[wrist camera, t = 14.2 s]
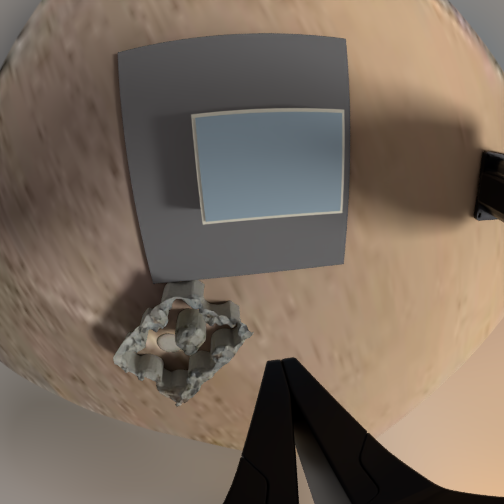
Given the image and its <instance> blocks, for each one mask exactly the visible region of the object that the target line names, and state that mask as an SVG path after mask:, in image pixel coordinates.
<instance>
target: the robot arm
mask: <svg viewBox="0 0 504 504" xmlns="http://www.w3.org/2000/svg"><path fill="white" fill-rule="evenodd" d="M474 218H475V219H476V220H478V221H481V220H495V219H499V220H501V221H502V222H504V154H499V153H494V152H489V151H484V152H483V154H482V162H481V171H480V180H479V187H478V194H477V200H476V206H475V212H474ZM295 446H296V449H297V452H298V455H299V458H300V461H301V464H302V467H303V470H304V473H305V476H306V479H307V483H308V486H309V489H310V491H311V494H312V497H313V500H314V503H315V504H504V497H496V496H487V495H478V494H471V493H465V492H459V491H453V490H449V489H445V488H443V487H440V486H438V485H436V484H434V483H433V482H431V481H430V480H428V479H427V478H425V477H424V476H422V475H421V474H419V473H418V472H416V471H415V470H413V469H412V468H410V467H409V466H408V465H406V464H405V463H403V462H402V461H401V460H399V459H398V458H397V457H395V456H394V455H392V453H390V452H389V451H388V450H387V449H385V448H384V447H383V446H382V445H381V444H380V443H379V442H378V441H377V440H376V439H375V438H374V437H373V436H372V435H371V434H370V433H367V431H366V430H365V429H364V428H363V427H362V426H361V425H360V424H359V423H358V422H357V421H356V420H355V419H354V418H353V417H352V416H351V415H350V414H349V413H348V412H347V411H346V410H345V409H344V408H343V407H342V406H341V405H340V404H339V403H338V402H337V401H336V400H335V399H334V398H333V396H332V395H331V394H330V393H329V392H328V391H327V390H326V389H325V388H324V387H323V386H322V385H321V384H320V383H319V382H318V381H317V380H316V379H315V378H314V377H313V376H312V375H311V374H310V373H309V372H308V371H307V369H306V368H305V367H304V366H303V365H302V364H301V363H300V362H299V361H298V360H297V359H296V358H294V357H292V358H285V359H282V360H271V361H267V363H266V367H265V371H264V375H263V379H262V382H261V386H260V390H259V394H258V398H257V401H256V405H255V409H254V413H253V416H252V420H251V423H250V427H249V431H248V434H247V438H246V441H245V445H244V448H243V452H242V457H241V458H240V461H239V465H238V468H237V471H236V474H235V477H234V480H233V482H232V485H231V487H230V490H229V492H228V494H227V496H226V498H225V501H224V503H223V504H299V497H298V481H297V466H296V452H295Z"/></svg>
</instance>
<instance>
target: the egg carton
mask: <svg viewBox="0 0 504 504" xmlns="http://www.w3.org/2000/svg"><path fill="white" fill-rule="evenodd" d="M203 293H204V284H203V283H202V282H201V281H199V280H189V281H185V282H168V283H167V285H166V286H165V288H164V291H163V296H162V299H161V304H160V305H157V306H156V307H155V308H154V309H151V308H148V309H147V310H146V311H145V312H144V314H143V316H142V320H141V324H140V326H139V327H137V328H136V329H135V330H134V332H133V333H132V332H129V333H128V334H127V336H126V338H125V341H124V342H123V343H122V344H121V346H120V348H119V349H118V351H117V352H116V354H115V356H114V358H113V360H114V363H115V364H116V365H118V366H120V367H121V368H122V369H123V370H124V371H125V372H126V373H127V372H128V371H129V372H131V373H133V374H135V375H136V376H137V377H138V379H139V380H141V381H143V380H144V377H147V378H149V379H151V380H153V381H155V382H156V386H157V389H158V391H159V392H160V393H161V394H162V395H164V396H166V397H168V398H171V399H172V400H173V401H175V402H177V403H176V406H179V405H181V404H182V403H183V402H184V403H186V402H187V401H188V400H189V399H190V398H192V397H193V396H194V395H195V394H196V393H197V392H198V391H199V389H200V387H201V385H202V384H203V383H204V382H206V381H207V380H209V379H211V378H212V377H213V375H214V373H216V372H217V371H218V370H219V369H220V368H221V367H222V366H223V365H225V364H227V363H228V362H229V361H230V360H231V359H232V357H233V356H234V355H235V354H236V352H237V351H238V349H239V347H240V346H242V344H243V343H244V341H245V339H247V338H250V337H251V336H252V334H253V332H252V333H251V332H250V331H249V330H248V328H247V326H246V325H245V324H243V323H241V320H240V311H239V306H238V305H237V304H235V303H233V302H232V301H228V302H226V303H224V304H221V305H214V304H210V303H208V302H207V301H206V300H205V299H204V297H203ZM175 299H182V300H183V301H184V302H186V303H187V304H188V305H189V306H191V307H192V308H193V309H185V310H183V311H181V312H180V313H179V315H178V319H177V324H176V330H175V335H174V334H169V333H168V334H163V335H161V336H160V337H159V338H158V340H157V343H158V346H159V347H160V348H161V349H162V350H164V351H166V352H177V351H179V350H181V349H182V350H183V351H184V353H185V354H186V355H189V356H190V355H191V356H190V358H189V369H188V370H187V371H186V370H175V371H173V372H170V371H168V370H166V369H164V368H163V367H164V362H163V360H162V359H161V358H160V357H158V356H156V355H153V354H145V355H142V356H139V355H137V354H136V353H137V352H138V351H140V350H142V349H143V348H145V344H146V340H147V336H148V331H149V329H152V330H153V331H155V332H157V331H158V330H159V328H162V329H163V328H164V327H165V326H166V325H167V323H168V312H169V310H170V309H171V308H172V303H173V301H174V300H175ZM197 309H199V310H197ZM206 323H208V324H209V325H210V326H213V325H214V323H217V324H218V325H220V326H221V325H223V324H228V325H229V326H230V327H231V328H233V327H234V326H235V325H236V323H237V327H236V328H235V329H234V330H231V329H219V330H217V331H215V332H214V333H213V334H212V337H211V351H210V352H207V351H197V350H198V349H199V347H200V346H201V345H202V344H203V343H204V342H205V340H206ZM133 351H134V352H136V353H134V352H133Z"/></svg>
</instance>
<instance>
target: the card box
mask: <svg viewBox="0 0 504 504" xmlns="http://www.w3.org/2000/svg"><path fill="white" fill-rule="evenodd" d="M191 118H192V129H193V140H194V151H195V161H196V170H197V180H198V189H199V197H200V206H201V214H202V222H203V225H204V224H214V223H224V222H235V221H246V220H257V219H269V218H281V217H293V216H307V215H321V214H336V213H342V209H343V189H344V150H345V123H344V110H342V109H318V108H272V109H248V110H233V111H220V112H210V113H200V114H192V115H191Z"/></svg>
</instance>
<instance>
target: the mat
mask: <svg viewBox="0 0 504 504" xmlns="http://www.w3.org/2000/svg"><path fill="white" fill-rule="evenodd" d="M118 70H119V86H120V98H121V109H122V119H123V128H124V136H125V144H126V152H127V158H128V165H129V172H130V178H131V184H132V189H133V195H134V200H135V206H136V211H137V216H138V221H139V226H140V230H141V235H142V239H143V244H144V248H145V253H146V257H147V261H148V265H149V269H150V273H151V277H152V281H153V284H155V283H166V282H178V281H189V280H199V279H210V278H220V277H230V276H240V275H250V274H259V273H269V272H278V271H287V270H296V269H305V268H313V267H322V266H330V265H339V264H344V254H345V243H346V231H347V217H348V200H349V176H350V98H349V76H348V60H347V47H346V39H343V38H335V37H326V36H316V35H302V34H274V33H259V34H231V35H217V36H206V37H197V38H189V39H182V40H175V41H169V42H163V43H158V44H153V45H148V46H143V47H138V48H134V49H130V50H126V51H122V52H118ZM272 108H318V109H342V110H344V123H345V150H344V189H343V209H342V213H336V214H321V215H307V216H293V217H281V218H269V219H257V220H246V221H235V222H224V223H214V224H204V225H203V222H202V214H201V206H200V197H199V189H198V180H197V170H196V161H195V151H194V140H193V129H192V118H191V115H192V114H200V113H210V112H220V111H233V110H248V109H272Z"/></svg>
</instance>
